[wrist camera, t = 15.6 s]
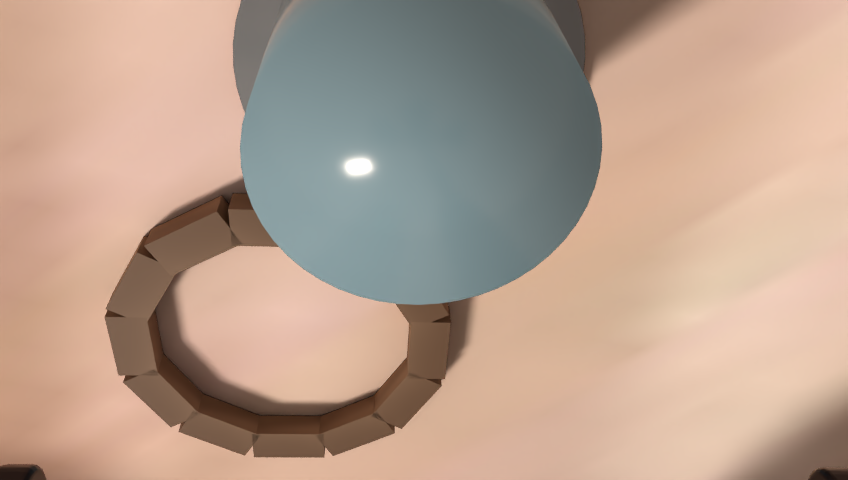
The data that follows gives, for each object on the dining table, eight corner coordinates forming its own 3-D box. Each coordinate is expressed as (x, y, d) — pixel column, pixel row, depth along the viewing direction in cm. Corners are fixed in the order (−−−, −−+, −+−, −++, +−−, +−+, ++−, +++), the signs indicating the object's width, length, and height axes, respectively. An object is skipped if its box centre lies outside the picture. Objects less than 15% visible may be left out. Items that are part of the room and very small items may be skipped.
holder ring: (459, 199, 21) (462, 215, 21) (435, 439, 27) (436, 457, 27) (87, 189, 21) (77, 205, 20) (144, 438, 27) (138, 456, 26)
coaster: (613, -109, 17) (617, -106, 17) (552, 214, 22) (554, 221, 22) (219, -132, 16) (216, -129, 16) (248, 205, 21) (246, 213, 21)
